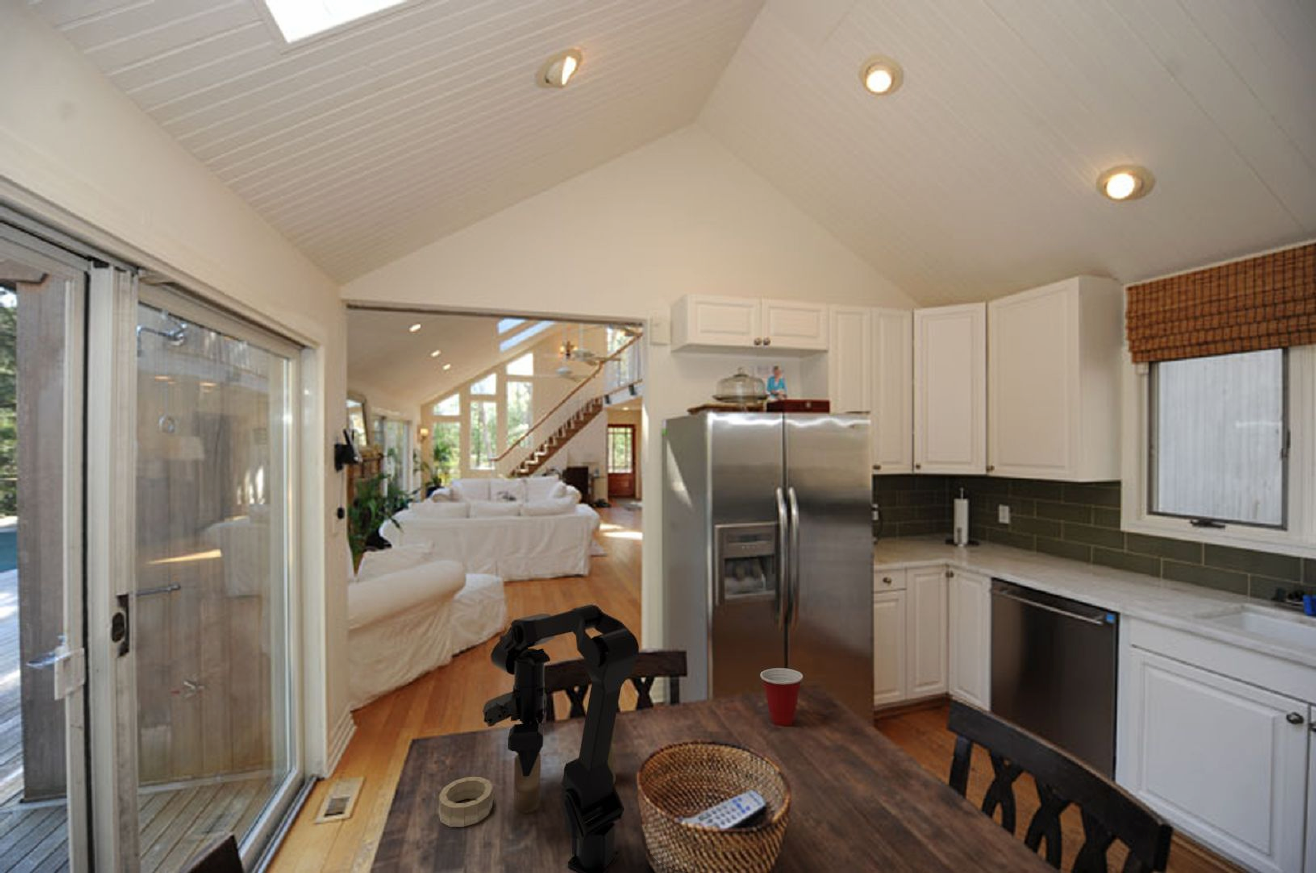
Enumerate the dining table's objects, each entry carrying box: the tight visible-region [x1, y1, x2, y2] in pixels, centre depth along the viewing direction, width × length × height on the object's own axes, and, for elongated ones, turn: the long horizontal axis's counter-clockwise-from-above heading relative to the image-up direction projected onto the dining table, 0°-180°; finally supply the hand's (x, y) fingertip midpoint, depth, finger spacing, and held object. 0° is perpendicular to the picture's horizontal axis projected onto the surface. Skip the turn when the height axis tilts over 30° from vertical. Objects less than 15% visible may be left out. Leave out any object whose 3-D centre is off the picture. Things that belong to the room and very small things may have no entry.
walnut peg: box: [513, 752, 542, 814], centre depth 107 cm, size 5×5×9 cm
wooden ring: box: [438, 776, 494, 828], centre depth 105 cm, size 9×9×4 cm
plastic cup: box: [759, 667, 804, 727], centre depth 142 cm, size 11×11×12 cm
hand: (528, 762), depth 107 cm, fingers open, 9 cm apart
